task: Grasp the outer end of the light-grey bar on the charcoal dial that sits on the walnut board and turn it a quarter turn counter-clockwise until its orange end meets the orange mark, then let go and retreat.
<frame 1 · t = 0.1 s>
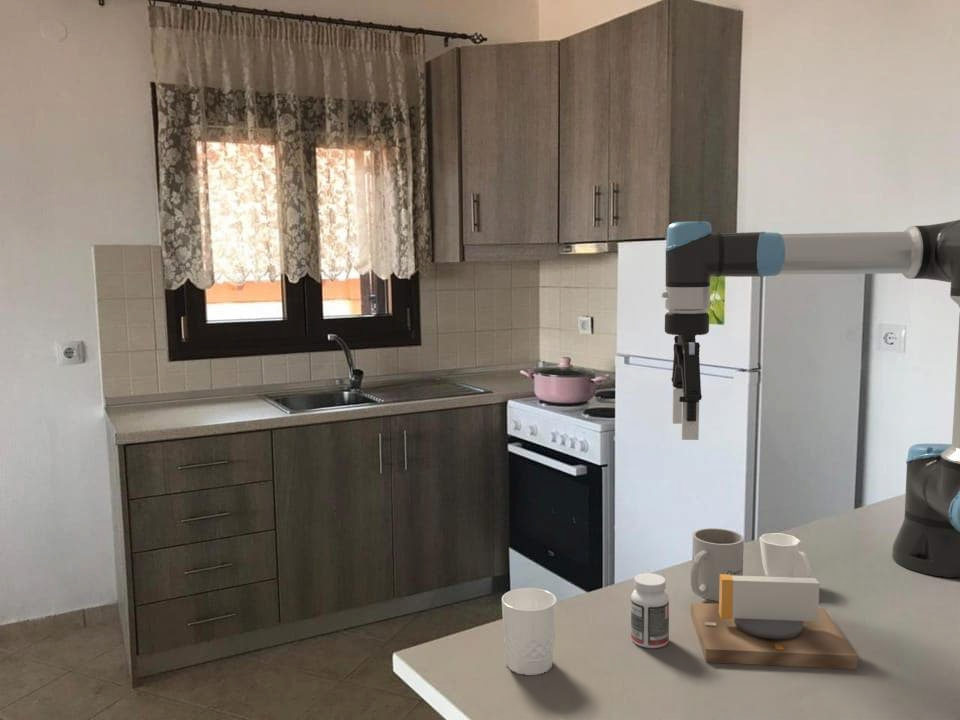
hand: (684, 431, 143), 28 cm above the countertop, fingers open, 13 cm apart
mug: (709, 594, 141), on the countertop
dial: (768, 601, 123), point 6 cm above the countertop, hinge at 0.0°
cup: (785, 585, 144), on the countertop
board: (767, 639, 124), on the countertop
pill bottle: (649, 642, 124), on the countertop
white cup: (529, 665, 117), on the countertop
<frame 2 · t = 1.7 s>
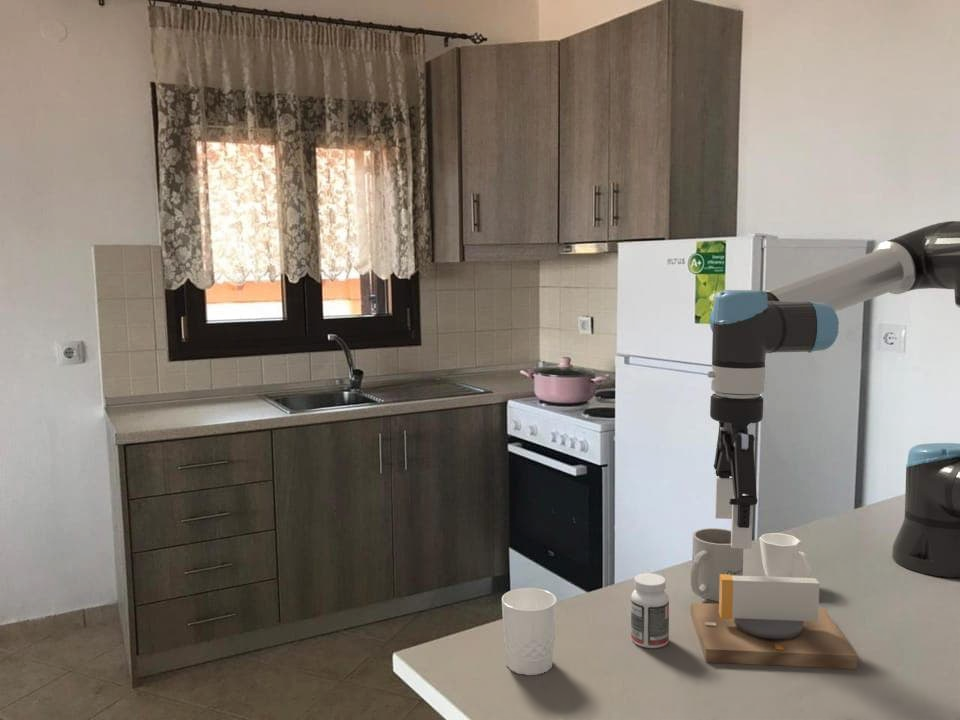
hand: (732, 532, 122), 17 cm above the countertop, fingers open, 13 cm apart
nothing on the countertop moved.
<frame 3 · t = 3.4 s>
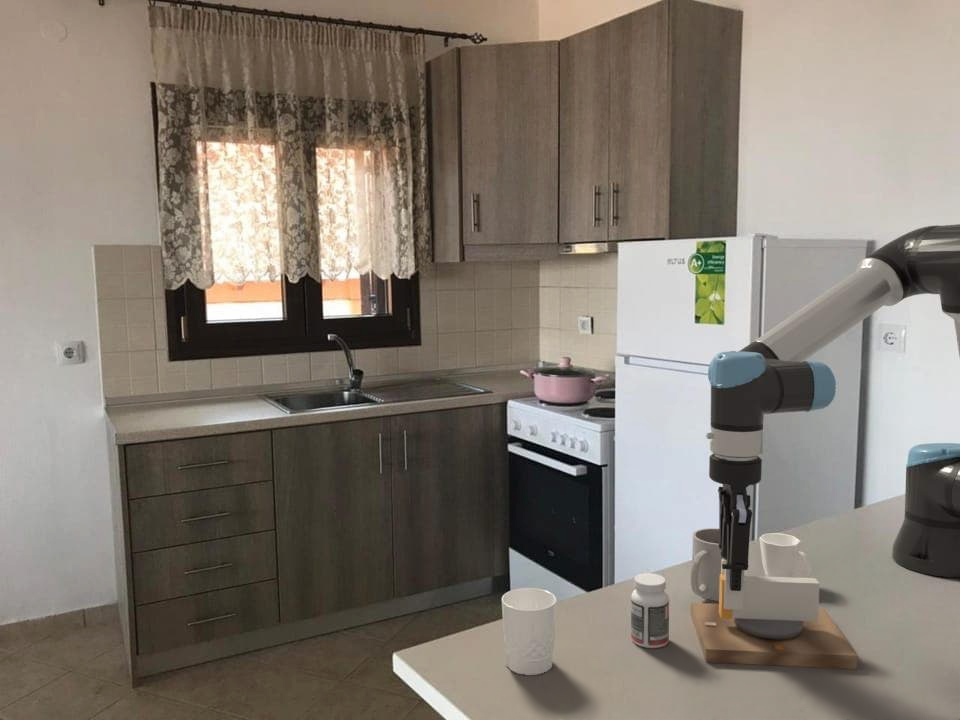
hand: (731, 604, 124), 5 cm above the countertop, fingers closed on dial, 2 cm apart
dial: (768, 601, 123), point 6 cm above the countertop, hinge at 0.0°, touching gripper
everything else where it was.
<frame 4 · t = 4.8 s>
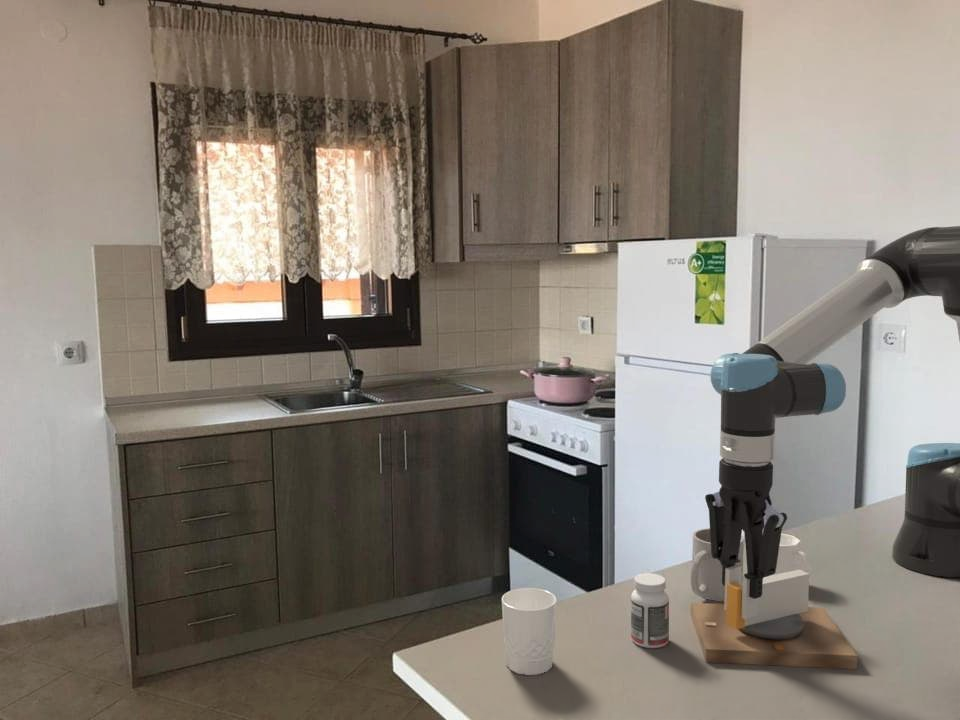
hand: (740, 611, 121), 6 cm above the countertop, fingers closed on dial, 2 cm apart
dial: (768, 601, 123), point 6 cm above the countertop, hinge at 30.5°, touching gripper
everything else where it was.
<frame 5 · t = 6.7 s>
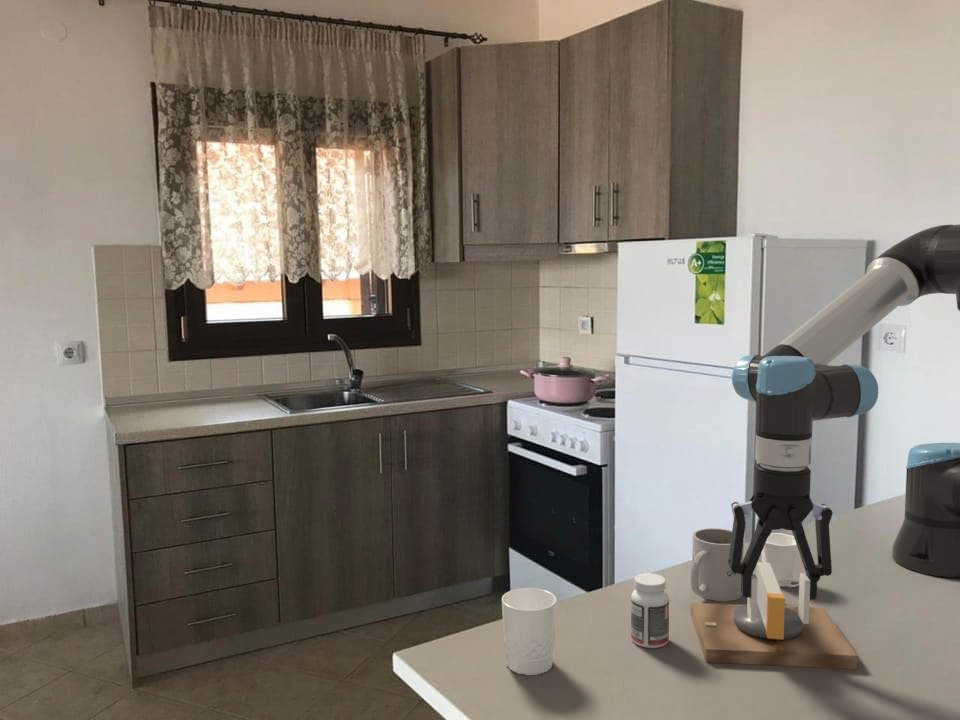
hand: (777, 618, 118), 6 cm above the countertop, fingers open, 7 cm apart
dial: (768, 601, 123), point 6 cm above the countertop, hinge at 85.1°
everything else where it was.
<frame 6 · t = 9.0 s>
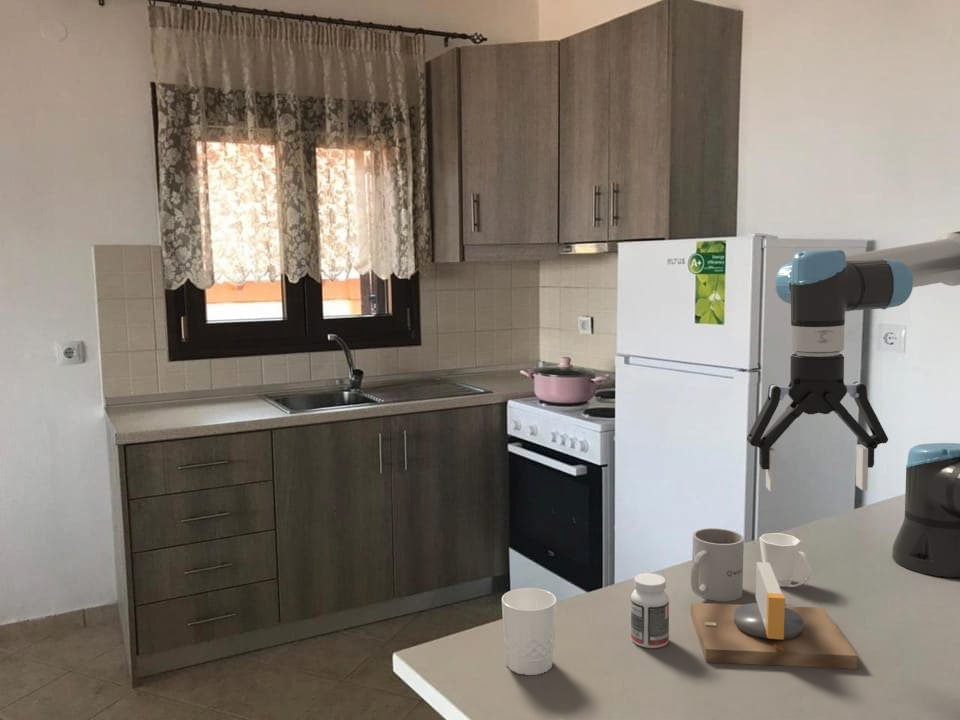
hand: (815, 488, 125), 23 cm above the countertop, fingers open, 13 cm apart
nothing on the countertop moved.
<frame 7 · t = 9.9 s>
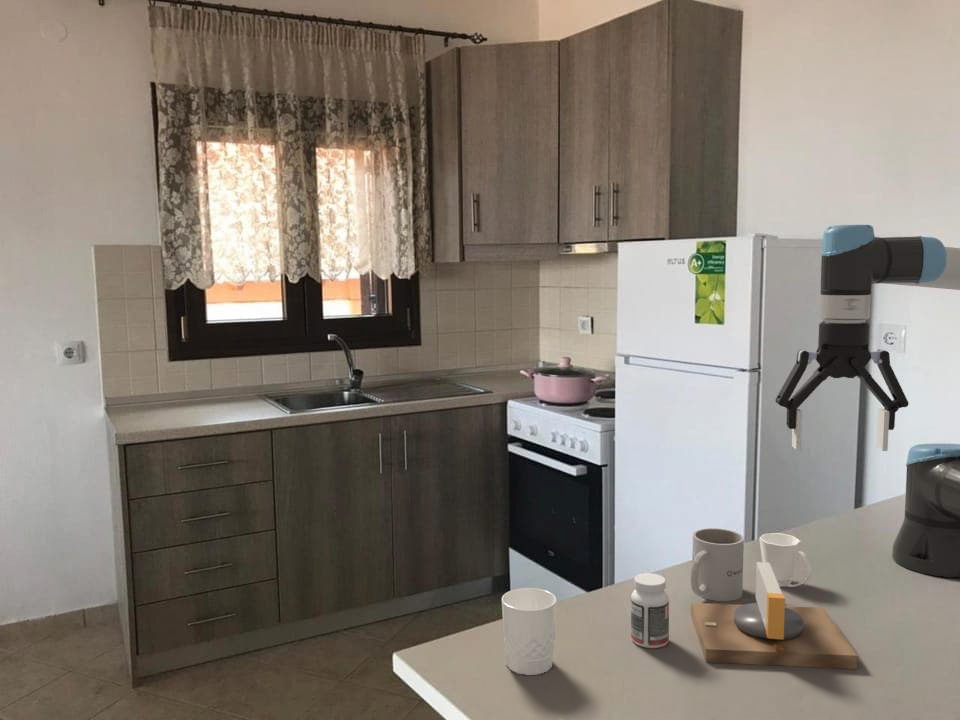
hand: (838, 448, 133), 27 cm above the countertop, fingers open, 13 cm apart
nothing on the countertop moved.
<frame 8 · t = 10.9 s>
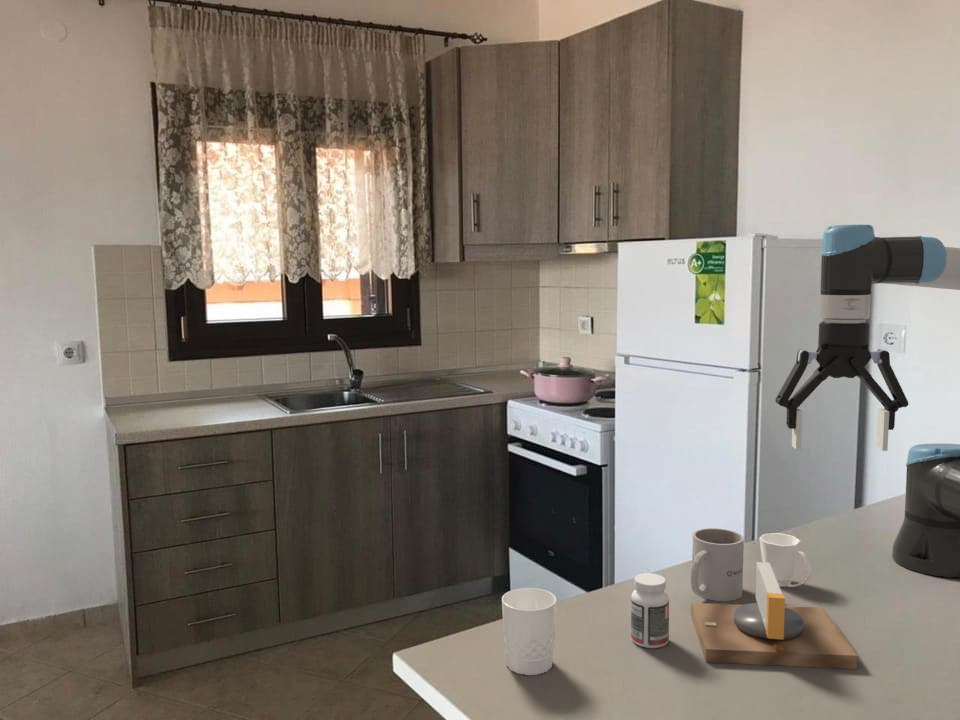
hand: (838, 448, 133), 27 cm above the countertop, fingers open, 13 cm apart
nothing on the countertop moved.
at the end: dial at +85° (first picture: +0°); the gripper is holding nothing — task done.
